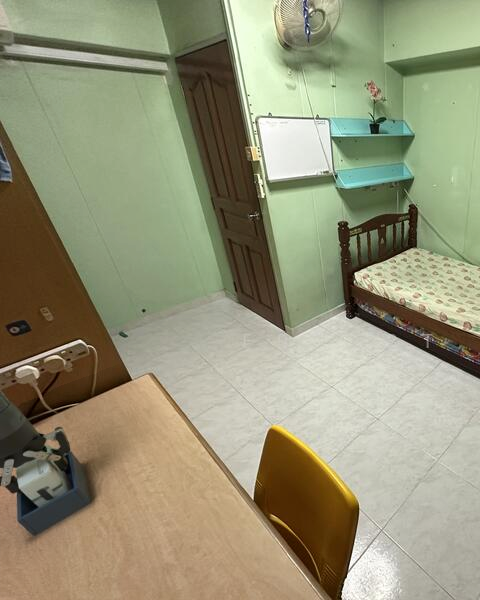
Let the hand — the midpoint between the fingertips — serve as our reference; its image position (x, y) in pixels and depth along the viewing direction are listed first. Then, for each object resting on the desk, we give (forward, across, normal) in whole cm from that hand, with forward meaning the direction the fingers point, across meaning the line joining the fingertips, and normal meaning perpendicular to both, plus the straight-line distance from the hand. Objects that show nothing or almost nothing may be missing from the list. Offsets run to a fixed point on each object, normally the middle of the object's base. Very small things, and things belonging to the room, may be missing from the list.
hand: (43, 478), depth 69 cm
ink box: (+8, 0, 0) cm, 8 cm away
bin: (+8, 0, 0) cm, 8 cm away
